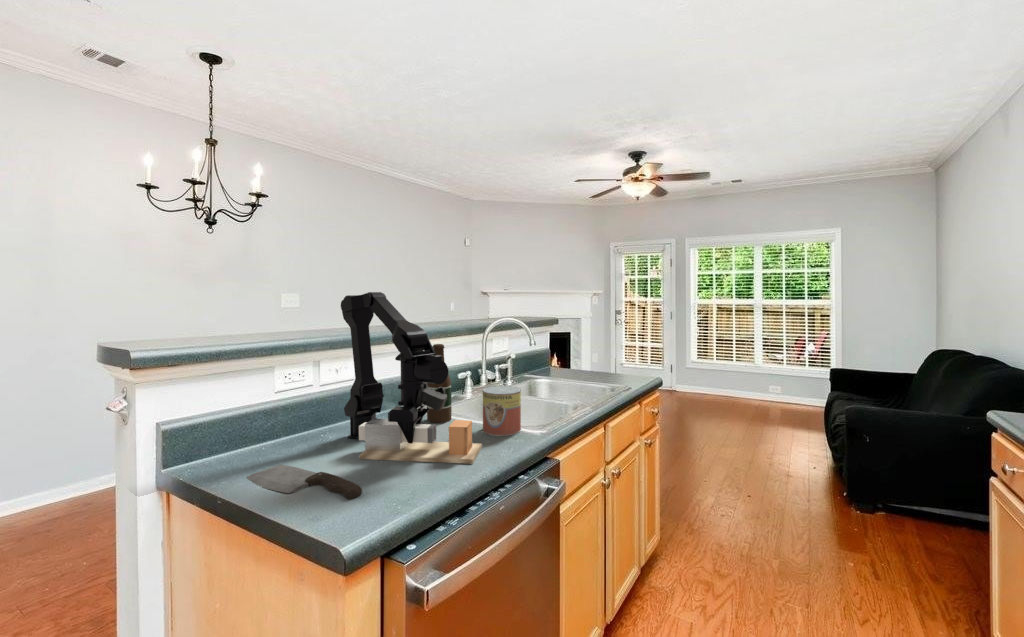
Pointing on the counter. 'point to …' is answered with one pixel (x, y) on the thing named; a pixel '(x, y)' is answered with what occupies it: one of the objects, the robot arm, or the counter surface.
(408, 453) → the board
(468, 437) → the orange rectangular block
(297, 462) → the counter surface
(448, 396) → the beer bottle
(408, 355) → the robot arm
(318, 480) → the cleaver
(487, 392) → the canned food
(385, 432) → the sleeve
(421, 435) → the off-white square bar
